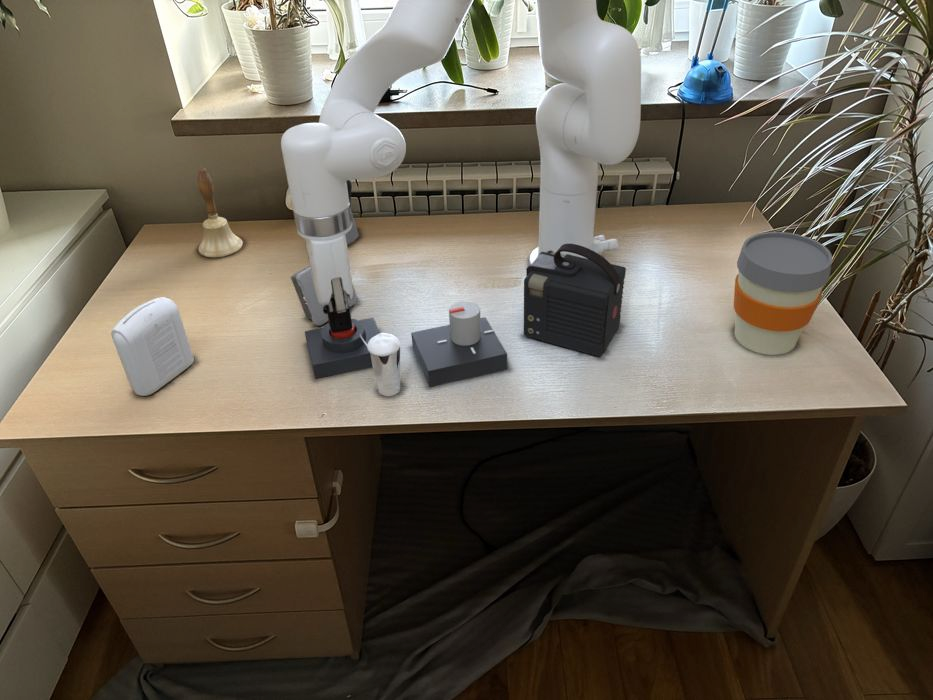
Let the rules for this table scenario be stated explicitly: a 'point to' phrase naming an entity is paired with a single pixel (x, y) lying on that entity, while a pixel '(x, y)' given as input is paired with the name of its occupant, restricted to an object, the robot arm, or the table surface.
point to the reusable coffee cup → (778, 289)
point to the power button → (344, 333)
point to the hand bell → (215, 224)
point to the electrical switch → (313, 297)
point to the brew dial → (465, 323)
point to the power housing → (340, 349)
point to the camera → (573, 299)
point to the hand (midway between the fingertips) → (341, 327)
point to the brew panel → (457, 355)
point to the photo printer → (152, 345)
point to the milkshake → (385, 362)
